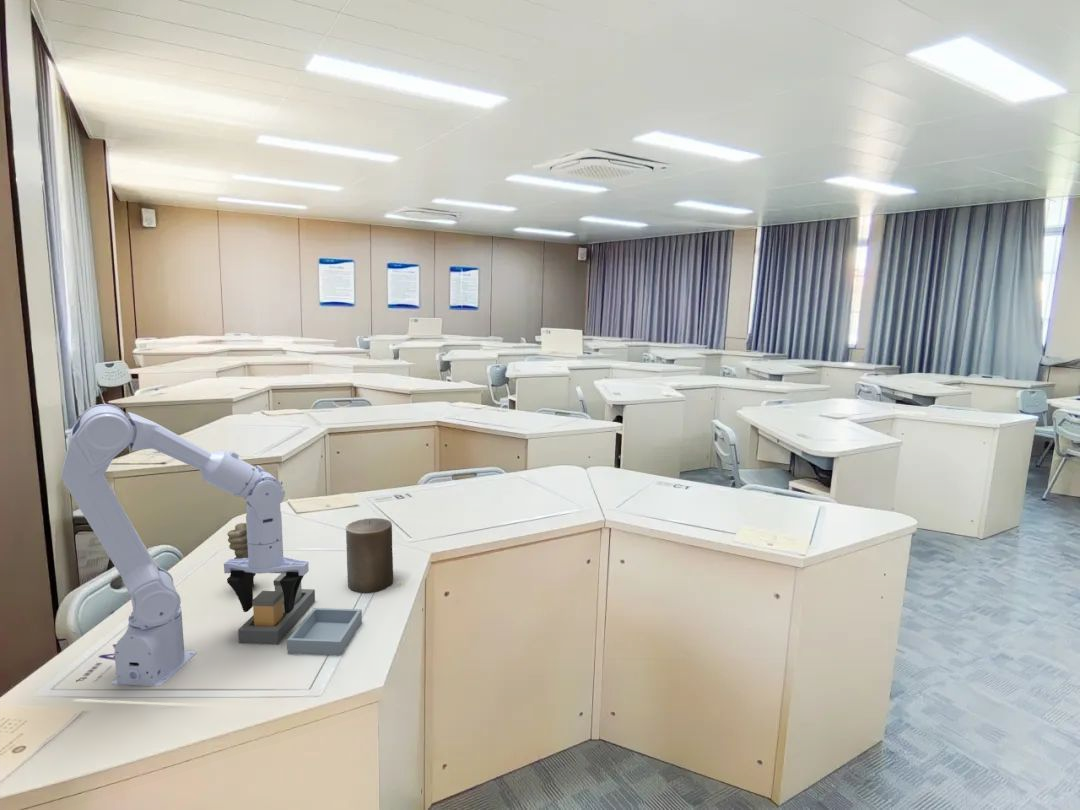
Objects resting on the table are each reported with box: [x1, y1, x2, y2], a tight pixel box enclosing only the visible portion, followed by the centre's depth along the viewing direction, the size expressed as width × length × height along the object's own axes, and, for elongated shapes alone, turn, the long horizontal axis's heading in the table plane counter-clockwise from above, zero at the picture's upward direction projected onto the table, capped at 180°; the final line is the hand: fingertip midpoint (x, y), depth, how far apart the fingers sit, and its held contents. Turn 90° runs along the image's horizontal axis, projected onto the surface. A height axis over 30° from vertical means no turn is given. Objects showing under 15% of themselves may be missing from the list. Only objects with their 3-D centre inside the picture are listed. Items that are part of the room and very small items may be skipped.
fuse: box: [273, 573, 303, 605], centre depth 114 cm, size 4×4×7 cm
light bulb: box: [226, 522, 257, 588], centre depth 122 cm, size 6×6×15 cm
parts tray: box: [286, 607, 363, 656], centre depth 105 cm, size 11×9×3 cm
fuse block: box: [237, 588, 316, 645], centre depth 110 cm, size 16×7×3 cm, turn 179°
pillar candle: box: [345, 517, 394, 594], centre depth 126 cm, size 10×10×15 cm
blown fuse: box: [252, 590, 283, 627], centre depth 106 cm, size 4×4×7 cm
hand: (268, 609), depth 106 cm, fingers open, 7 cm apart
